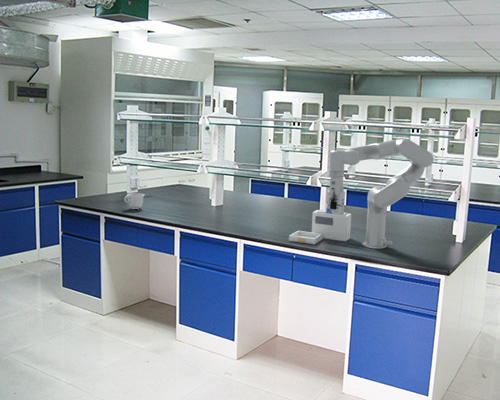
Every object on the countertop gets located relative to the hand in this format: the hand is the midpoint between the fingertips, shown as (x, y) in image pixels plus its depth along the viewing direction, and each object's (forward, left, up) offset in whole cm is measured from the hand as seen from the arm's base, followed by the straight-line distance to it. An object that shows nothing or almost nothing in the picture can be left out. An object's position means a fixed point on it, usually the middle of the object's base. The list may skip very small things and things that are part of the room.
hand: (335, 207), depth 274 cm
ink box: (0, 0, -3) cm, 3 cm away
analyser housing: (+6, -15, -20) cm, 26 cm away
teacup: (+148, -20, -20) cm, 151 cm away
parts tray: (+16, -2, -20) cm, 26 cm away
